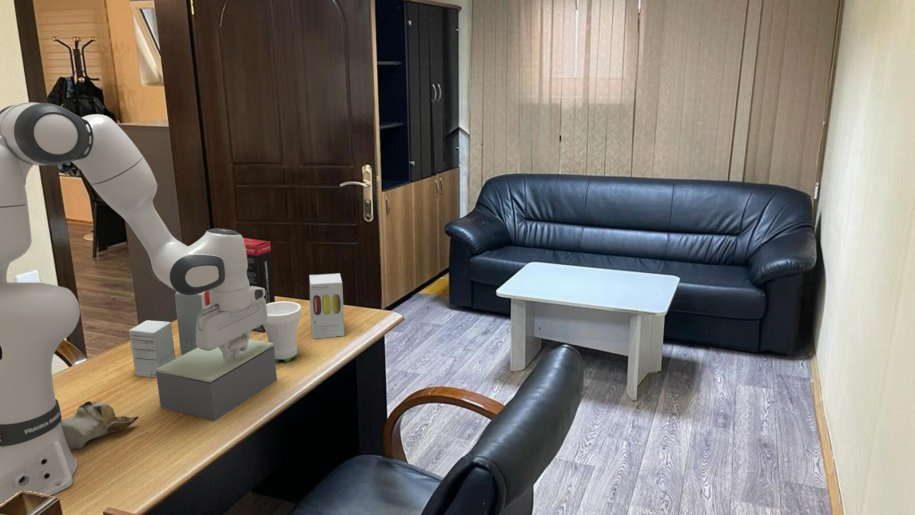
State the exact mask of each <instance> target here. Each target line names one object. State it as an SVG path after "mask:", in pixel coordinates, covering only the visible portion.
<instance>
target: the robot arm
mask: <svg viewBox="0 0 915 515" xmlns="http://www.w3.org/2000/svg"><path fill="white" fill-rule="evenodd" d="M66 163H73V164H74V165H75V167H77V168H78V169H79V170H80V171H81V173H82V175H83V176H84V177H85V178H86V180H87V182H88V183H89V185H90V186H91V187H92V189H93V190H94V191H95V192H96V193H97V195H98V196H99V197H100V198H101V199H102V200H103V201H104V202H105V203H106V205H108V206H109V207H110V208H111V209H112V210H113V211H115V213H117V214H118V215H119V216H121V218H122V219H124V221H125V222H126V224H128V227H129V228H130V229H131V231H132V232H133V233H134V235H135V237H136V238H137V240H138V241H139V242H140V245H142V247H143V249H144V251H145V255H146V261H147V267H148V270H149V272H150V274H151V276H152V277H153V278H154V279H155V280H156V281H158V282H159V283H162V284H163V285H166V286H167V287H168V288H170V289H172V290H174V291H176V292H179V293H181V294H184V295H196V294H200V293H203V292H205V291H208V290H209V296H210V307H209V308H207V309H203V310H202V311H201V313H200V314H199V316H198V317H197V323H196V345H197V347H198V348H199V349H201V350H206V351H212V350H214V349H216V348H217V347H218V348H219V349H220V350H221V351H222V354H223V358H224V359H227V360H228V359H230V358H232V357H233V351H232V350H229V349H228V347H227V346H229V341H231V340H233V339H235V338H237V337H239V336H241V337H246V338H247V340H249V339H250V337H251V331H253V330H252V329H254V328H256V327H258V326H260V325H262V324H264V323H265V322H266V320H267V305H266V300H265V298H264V296H265V289H264V288H261V287H255V286H250V285H249V280H248V278H247V268H248V263H247V254H246V248H245V244H244V240H243V238H244V237H243V235H242V234H241V233H239V232H237V231H235V230H233V229H228V228H218V227H217V228H210V229H208V230H206V231H205V232H204V235H202V237H200V238H199V239H198V240H197V241H194V243H192V244H191V245H187V244H185V243H184V242H182V241H180V239H177V238H175V237H174V236H173V235H172V233H171V232H170V231H169V229H168V228H167V225H166V224H165V222H164V221H163V220H162V218H161V216H160V215H159V213H158V211H157V210H156V208H155V205H154V201H153V200H154V198H155V196H156V193H157V190H158V183H157V180H156V178H155V176H154V173H153V171H152V169H151V166H150V165H149V163H148V162H147V160H146V158H145V157H144V156H143V154H142V153H141V151H140V150H139V148H138V147H137V145H136V144H135V143H134V142H133V141H132V139H131V138H130V137H129V136H128V135H127V133H126V132H125V131H124V130H123V129H122V127H120V126H119V125H118V124H117V123H116V122H115V121H114V120H113V119H112V118H111V117H109V116H107V115H104V114H100V113H98V114H97V113H96V114H88V115H84V116H82V117H81V116H79V115H77V114H75V113H73V112H72V111H70V110H69V109H67V108H65V107H62V106H60V105H57V104H53V103H47V102H35V101H34V102H32V101H31V102H22V103H18V104H13V105H12V104H11V105H9V106H6V107H4V108H2V109H1V110H0V348H1V352H2V354H1V359H0V504H2V503H4V502H5V501H6V500H8V499H9V498H11V497H12V496H14V495H15V494H16V493H18V492H20V491H24V490H25V491H32V492H37V493H42V494H47V495H50V494H53V495H55V494H57V493H60V492H62V491H64V490H65V489H67V488H69V487H71V486H72V485H73V483H74V479H73V475H74V474H75V472H76V471H77V468H78V462H77V460H76V458H75V457H74V455H73V454H72V451H71V448H69V447H68V444H67V442H66V439H65V436H64V433H63V430H62V427H61V420H63V419H62V418H63V417H62V413H61V412H62V411H61V407H60V403H59V401H58V399H57V398H56V394H55V388H54V381H53V374H52V373H53V370H52V366H53V365H52V364H53V358H54V355H55V353H56V350H57V349H58V347H59V345H60V344H61V343H62V342H63V341H64V340H66V338H68V337H69V336H70V335H71V334H72V333H73V332H74V330H75V328H76V327H77V326H78V323H79V320H80V314H81V312H80V304H79V301H78V299H77V298H76V296H75V294H74V293H73V292H72V290H71V289H69V288H67V287H65V286H59V285H54V284H50V283H45V282H19V281H18V282H16V281H15V282H11V281H10V282H8V280H7V278H8V276H7V275H8V268H9V266H10V264H11V263H12V262H14V261H16V260H18V259H19V258H21V257H22V256H23V255H25V254H26V253H27V252H28V251H29V249H30V248H31V245H32V242H33V241H32V234H31V233H32V232H31V222H30V221H31V220H30V213H29V204H28V203H29V202H28V195H27V191H26V190H27V189H26V184H27V176H28V174H29V172H30V170H31V168H33V167H34V166H58V165H64V164H66ZM247 349H248V345H247V346H245V347H243V348H240V351H245V350H247Z"/></svg>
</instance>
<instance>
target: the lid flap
mask: <svg viewBox="0 0 915 515" xmlns="http://www.w3.org/2000/svg"><path fill="white" fill-rule="evenodd" d="M247 345H248V349H247V350H245V351H240V348H243V347H245V346H247ZM272 346H274V343H269V342H268V341H263V340H256V339H251V338H249V340H247V338H246V337H241V336H239V337H237V338H235V339H233V340H231V341H229V346H227V347H228V349H229V350H232V351H233V357H232V358H230V359H228V360H227V359H224V358H223V354H222V351H221V350H220V349H219V348H218V347H217V348H216V349H214V350H212V351H206V350H201V349H199V348H196V349H194V350H192V351H190V352H188V353H186V354H184V355H182V356H181V355H180V356H179V357H176V359H174V360H172V361H170V362H168V363H166V364H164V365H162V366H160V367H158V368H156V369H155V370H156V372H161V373H166V374H171V375H176V376H181V377H186V378H191V379H196V380H201V381H206V382H212V381H214V380H215V379H217V378H219V377H221V376H222V375H224V374H226V373H228V372H229V371H231V370H233V369H234V368H236V367H238V366H240V365H241V364H243V363H245V362H246V361H248V360H250V359H252V358H253V357H255V356H257V355H258V354H260V353H262V352H264V351H265V350H267V349H269V348H271V347H272Z"/></svg>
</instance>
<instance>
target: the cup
mask: <svg viewBox="0 0 915 515" xmlns="http://www.w3.org/2000/svg"><path fill="white" fill-rule="evenodd" d="M266 305H267V320H266V322H265V323H264V324H263V326H264V328H265V333H266V336H267V342H269V343H274V346H272V347H274V352H275V363H278V362H279V361H281V360H283V361H284V362H287V363H288V362H290V361H291V359H294V358H295V359H296V358H297V357H298V354H299V353H298V345H297V329H298V324H299V321H300V319H301V317H302V305H301V304H299V303H298V302H294V301H285V300H283V301H282V300H281V301H280V300H279V301H275V302H273V303H268V304H266Z"/></svg>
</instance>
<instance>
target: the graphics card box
mask: <svg viewBox="0 0 915 515" xmlns="http://www.w3.org/2000/svg"><path fill="white" fill-rule="evenodd" d="M243 240H244V244H245V248H246V254H247V263H248V268H247V278H248V280H249V285H250V286H255V287H261V288H264V289H265V296H264V298H265V300H266V304H268V303H273V302H276V298H275V284H274V274H273V260H272V248H271V246H272V245H271V241H269V240H268V241H267V240H261V239H255V238H254V239H253V238H247V237H243ZM251 331H257V332H261V333H266V331H265V328H264V326H263V324H262V325H260V326H258V327H256V328H254V329H252V330H251Z"/></svg>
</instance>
